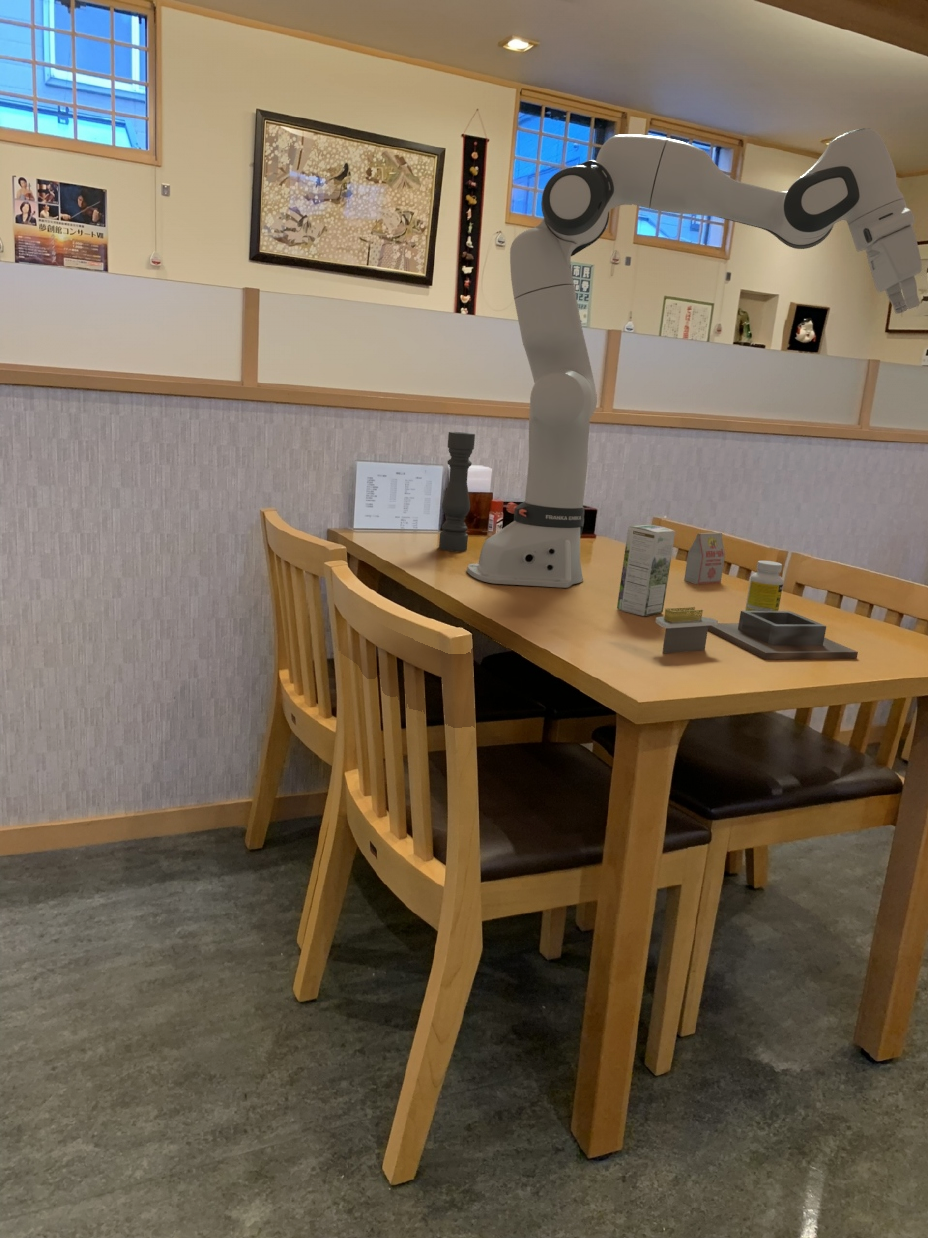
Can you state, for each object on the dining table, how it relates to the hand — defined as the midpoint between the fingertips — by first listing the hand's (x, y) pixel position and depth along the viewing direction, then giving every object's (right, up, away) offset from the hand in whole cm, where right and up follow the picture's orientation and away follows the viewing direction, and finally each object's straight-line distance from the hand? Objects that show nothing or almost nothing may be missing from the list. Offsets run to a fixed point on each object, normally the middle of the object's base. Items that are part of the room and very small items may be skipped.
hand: (907, 309), depth 150 cm
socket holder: (-26, -55, -11) cm, 62 cm away
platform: (-43, -57, -19) cm, 74 cm away
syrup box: (-44, -51, +2) cm, 67 cm away
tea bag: (-26, -44, +33) cm, 61 cm away
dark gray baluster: (-77, -36, +47) cm, 97 cm away
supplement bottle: (-23, -52, +5) cm, 57 cm away
